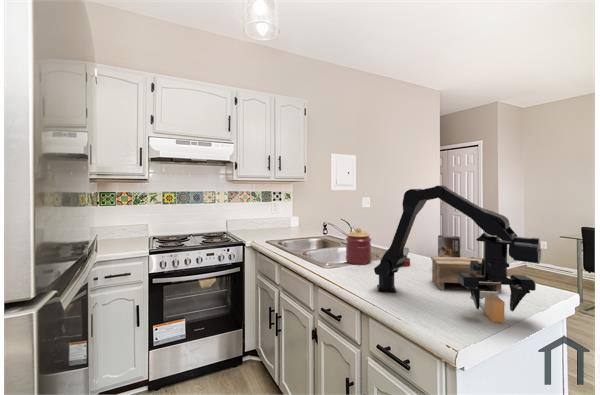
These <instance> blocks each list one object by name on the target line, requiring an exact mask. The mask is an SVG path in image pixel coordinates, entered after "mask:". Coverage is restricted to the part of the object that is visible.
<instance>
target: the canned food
mask: <svg viewBox="0 0 600 395" xmlns="http://www.w3.org/2000/svg"><path fill="white" fill-rule="evenodd" d="M409 252H410V249H409V247H404V250H403V253H404V255H406V256H407V258H406V260H405V262H404V266H402V267H401V268H406V267H410V266H411V258H409V257H408V254H409Z"/></svg>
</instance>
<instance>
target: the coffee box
mask: <svg viewBox="0 0 600 395" xmlns="http://www.w3.org/2000/svg"><path fill="white" fill-rule="evenodd" d="M437 257H456V258H461V237H460V236H458V235H457V236H455V235H440V234H438V236H437Z"/></svg>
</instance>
